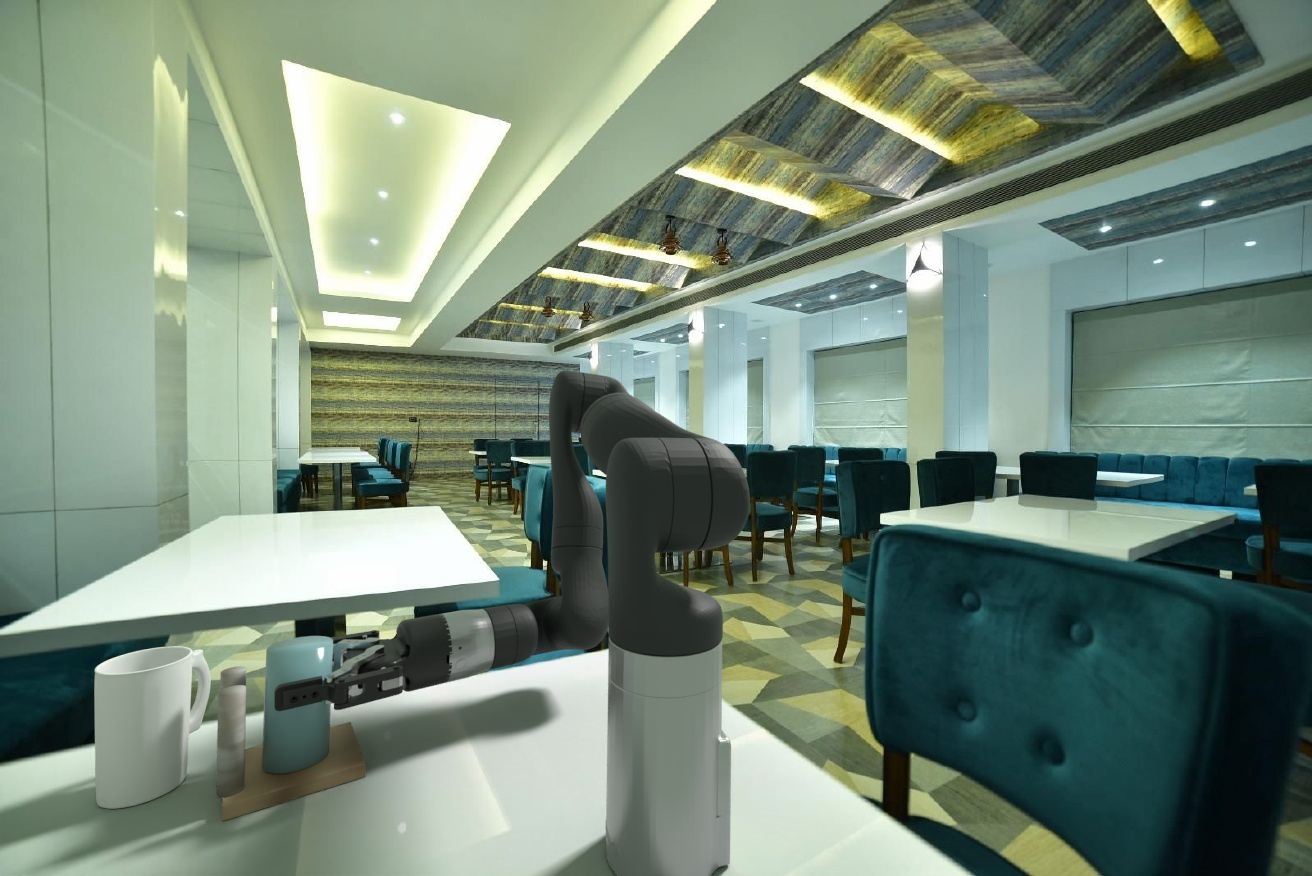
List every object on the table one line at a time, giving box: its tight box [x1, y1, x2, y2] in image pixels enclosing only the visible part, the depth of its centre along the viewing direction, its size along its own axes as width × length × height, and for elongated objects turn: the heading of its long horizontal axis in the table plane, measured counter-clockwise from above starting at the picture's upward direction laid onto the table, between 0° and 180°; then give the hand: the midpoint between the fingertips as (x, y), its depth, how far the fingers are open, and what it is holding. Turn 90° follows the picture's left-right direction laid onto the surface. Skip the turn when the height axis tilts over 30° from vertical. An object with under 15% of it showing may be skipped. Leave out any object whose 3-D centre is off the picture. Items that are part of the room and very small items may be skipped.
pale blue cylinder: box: [262, 635, 334, 773], centre depth 55 cm, size 6×6×11 cm
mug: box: [93, 645, 212, 810], centre depth 54 cm, size 10×7×12 cm, turn 174°
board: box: [215, 665, 367, 822], centre depth 55 cm, size 12×10×10 cm
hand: (273, 682), depth 54 cm, fingers open, 8 cm apart
